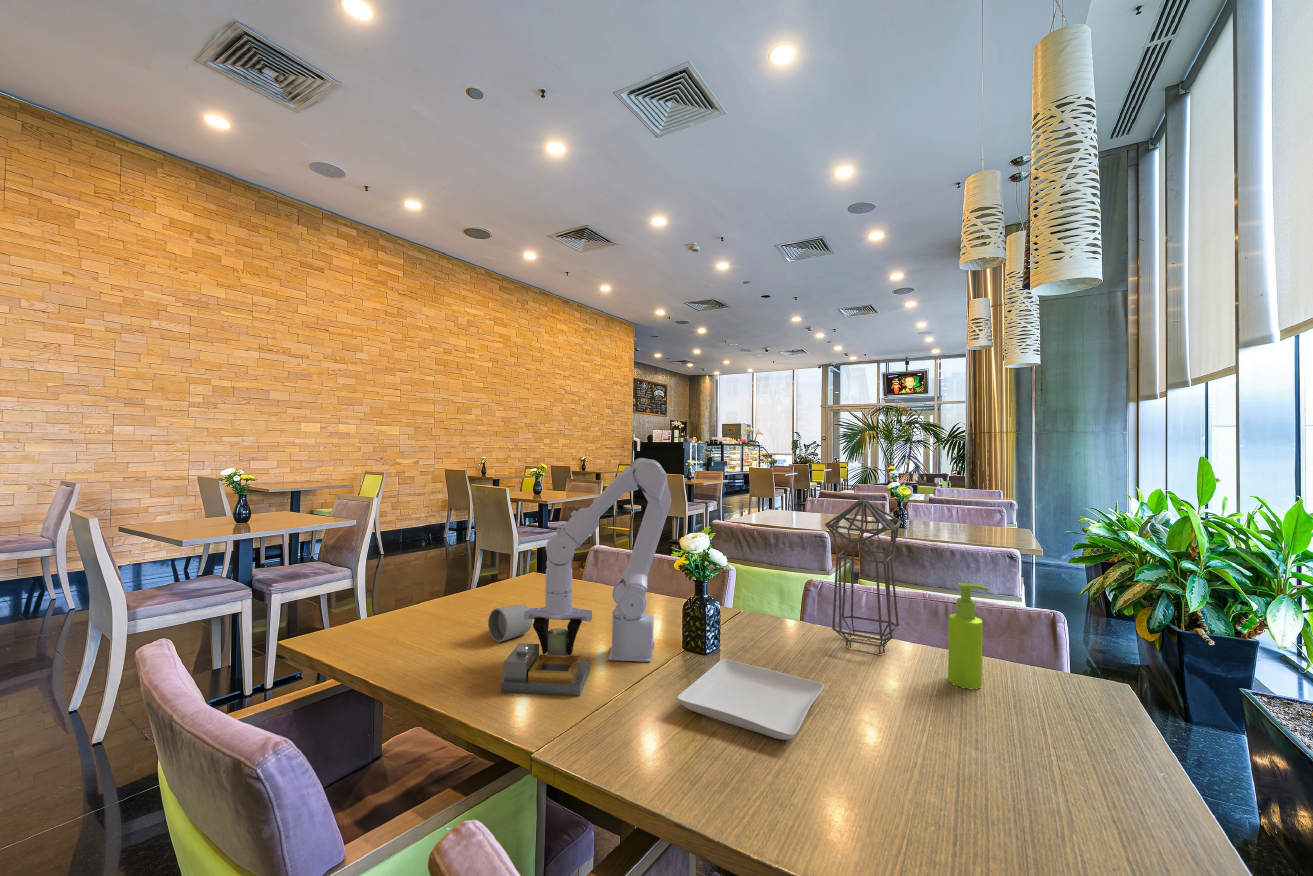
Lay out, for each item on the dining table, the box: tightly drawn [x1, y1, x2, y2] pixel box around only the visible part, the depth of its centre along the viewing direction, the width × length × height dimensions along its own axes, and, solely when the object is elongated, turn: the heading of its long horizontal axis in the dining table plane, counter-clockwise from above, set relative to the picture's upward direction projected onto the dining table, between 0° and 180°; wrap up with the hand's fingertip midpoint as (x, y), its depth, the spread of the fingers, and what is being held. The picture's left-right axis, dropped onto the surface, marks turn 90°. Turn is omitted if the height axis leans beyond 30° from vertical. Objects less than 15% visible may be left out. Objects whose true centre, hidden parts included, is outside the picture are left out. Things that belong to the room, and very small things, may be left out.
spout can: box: [546, 627, 568, 655], centre depth 114 cm, size 4×6×8 cm
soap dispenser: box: [947, 582, 990, 690], centre depth 107 cm, size 6×7×20 cm
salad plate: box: [676, 658, 825, 741], centre depth 96 cm, size 21×21×3 cm
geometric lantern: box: [824, 499, 903, 655], centre depth 126 cm, size 16×16×35 cm
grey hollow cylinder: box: [487, 604, 533, 643], centre depth 129 cm, size 11×8×8 cm
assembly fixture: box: [500, 642, 591, 697], centre depth 105 cm, size 15×11×7 cm
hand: (557, 652), depth 115 cm, fingers open, 5 cm apart
